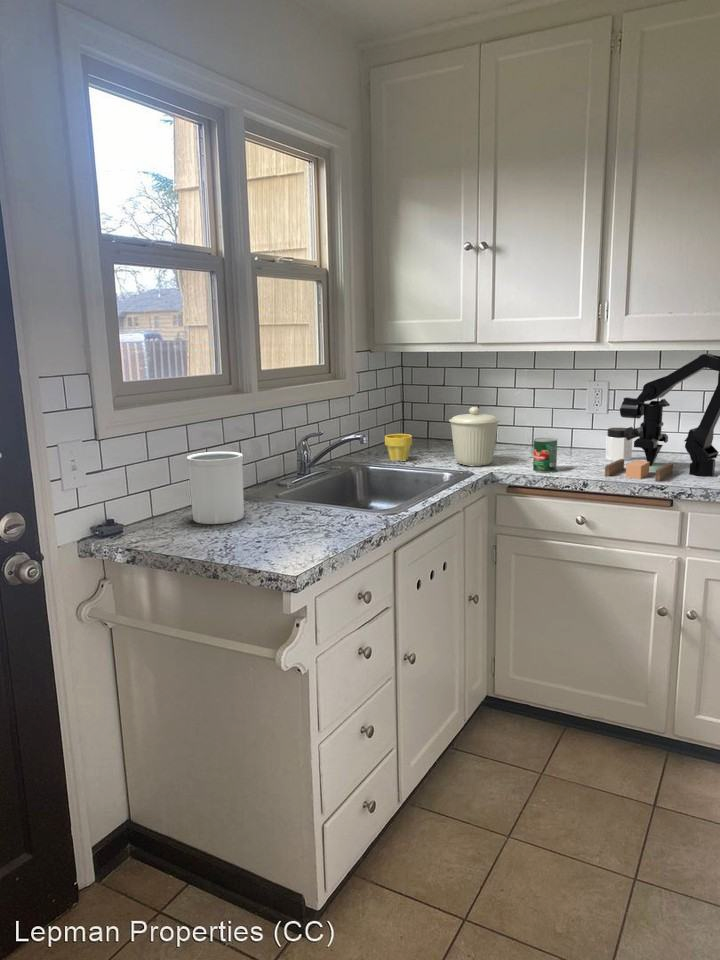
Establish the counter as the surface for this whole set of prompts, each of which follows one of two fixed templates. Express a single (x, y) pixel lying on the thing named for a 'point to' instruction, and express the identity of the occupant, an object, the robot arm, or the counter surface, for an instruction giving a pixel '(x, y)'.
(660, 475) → the brown wooden tray
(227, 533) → the counter surface
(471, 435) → the canister
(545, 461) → the canned tomato
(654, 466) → the pale green rectangular block
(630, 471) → the peach rectangular block
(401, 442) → the plant pot
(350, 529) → the counter surface
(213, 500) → the utensil holder
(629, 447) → the jar
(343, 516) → the counter surface
